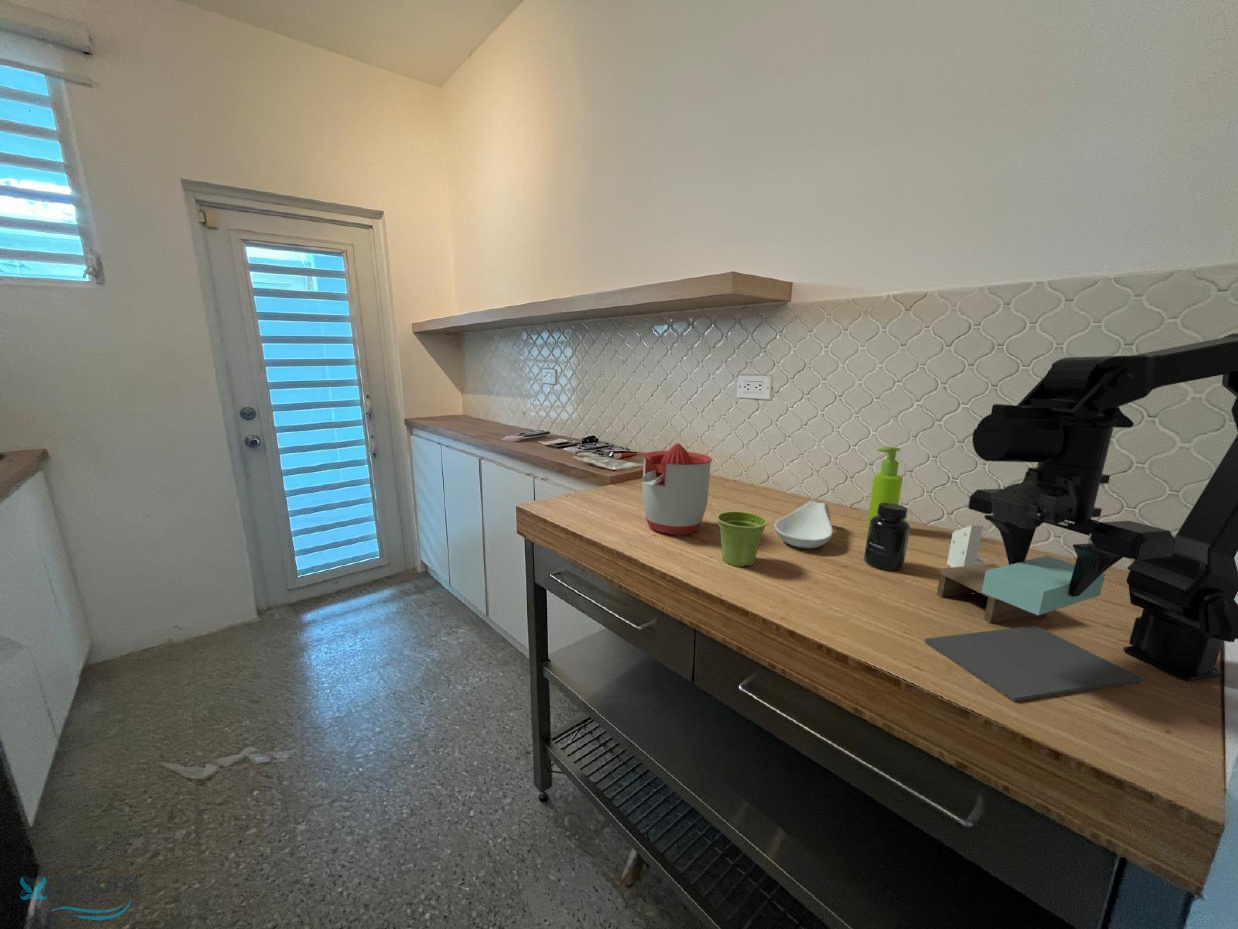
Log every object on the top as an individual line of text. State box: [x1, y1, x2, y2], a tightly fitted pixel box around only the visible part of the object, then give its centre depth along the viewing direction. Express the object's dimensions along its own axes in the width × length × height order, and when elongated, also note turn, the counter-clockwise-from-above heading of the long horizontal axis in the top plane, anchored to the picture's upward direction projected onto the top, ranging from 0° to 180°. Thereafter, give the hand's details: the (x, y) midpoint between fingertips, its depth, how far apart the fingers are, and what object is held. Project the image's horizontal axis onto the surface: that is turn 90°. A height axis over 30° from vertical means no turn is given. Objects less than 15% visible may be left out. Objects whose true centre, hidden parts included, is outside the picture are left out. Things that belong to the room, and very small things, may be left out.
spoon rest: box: [773, 500, 834, 549], centre depth 104 cm, size 24×12×7 cm, turn 145°
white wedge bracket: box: [946, 524, 988, 568], centre depth 87 cm, size 4×10×9 cm, turn 169°
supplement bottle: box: [863, 503, 911, 572], centre depth 89 cm, size 7×7×12 cm
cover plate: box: [982, 555, 1106, 615], centre depth 59 cm, size 6×14×3 cm, turn 113°
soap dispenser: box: [866, 446, 904, 528], centre depth 110 cm, size 6×7×20 cm
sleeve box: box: [936, 563, 1048, 624], centre depth 75 cm, size 9×11×5 cm
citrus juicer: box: [641, 443, 713, 536], centre depth 105 cm, size 16×17×20 cm
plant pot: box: [716, 510, 768, 568], centre depth 89 cm, size 9×9×9 cm
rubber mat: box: [923, 625, 1142, 703], centre depth 61 cm, size 12×20×1 cm, turn 103°
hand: (1042, 583), depth 59 cm, fingers closed on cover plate, 6 cm apart
